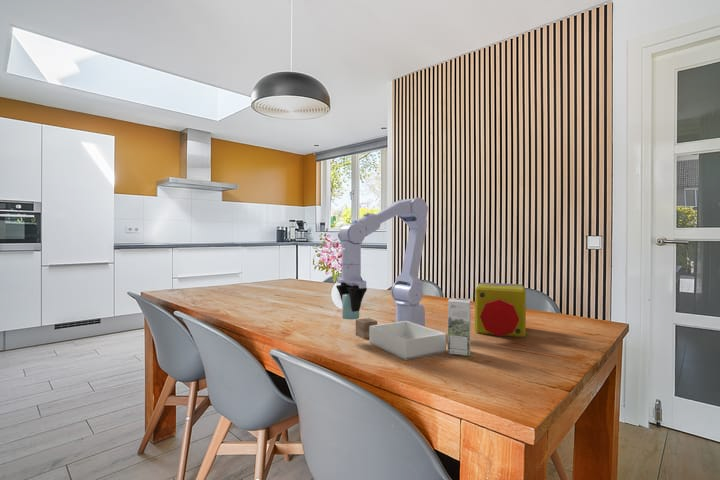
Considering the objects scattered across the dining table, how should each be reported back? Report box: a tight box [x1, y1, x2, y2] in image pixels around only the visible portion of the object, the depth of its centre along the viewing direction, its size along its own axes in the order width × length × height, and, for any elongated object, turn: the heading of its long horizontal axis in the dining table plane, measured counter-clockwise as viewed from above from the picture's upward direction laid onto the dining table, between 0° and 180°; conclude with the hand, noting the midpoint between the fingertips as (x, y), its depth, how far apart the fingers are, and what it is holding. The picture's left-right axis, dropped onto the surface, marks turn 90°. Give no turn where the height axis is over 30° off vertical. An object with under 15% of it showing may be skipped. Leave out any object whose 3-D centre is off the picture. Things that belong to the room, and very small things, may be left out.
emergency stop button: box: [474, 282, 527, 338], centre depth 119 cm, size 15×24×15 cm, turn 158°
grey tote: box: [368, 321, 447, 361], centre depth 104 cm, size 14×18×5 cm
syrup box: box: [447, 297, 472, 357], centre depth 99 cm, size 6×6×14 cm
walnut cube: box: [355, 317, 378, 340], centre depth 116 cm, size 5×5×5 cm
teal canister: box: [341, 293, 360, 321], centre depth 110 cm, size 5×5×7 cm
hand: (351, 309), depth 110 cm, fingers closed on teal canister, 5 cm apart
